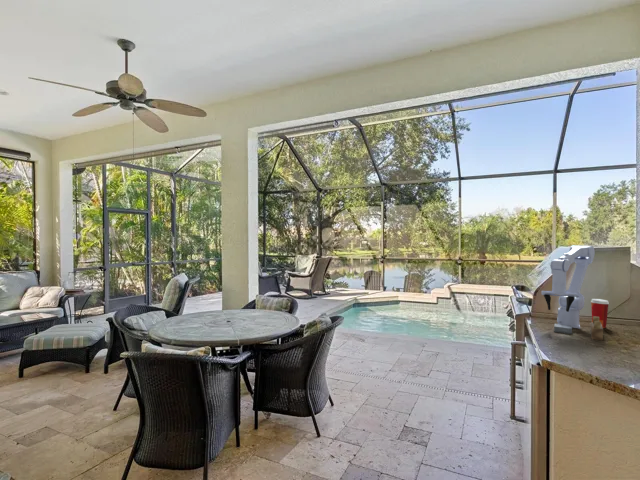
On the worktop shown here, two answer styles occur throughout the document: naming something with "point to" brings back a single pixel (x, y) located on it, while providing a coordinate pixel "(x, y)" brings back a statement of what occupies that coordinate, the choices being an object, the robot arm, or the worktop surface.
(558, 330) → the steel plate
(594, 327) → the bench dog block
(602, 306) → the paper cup
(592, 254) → the robot arm
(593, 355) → the worktop surface
